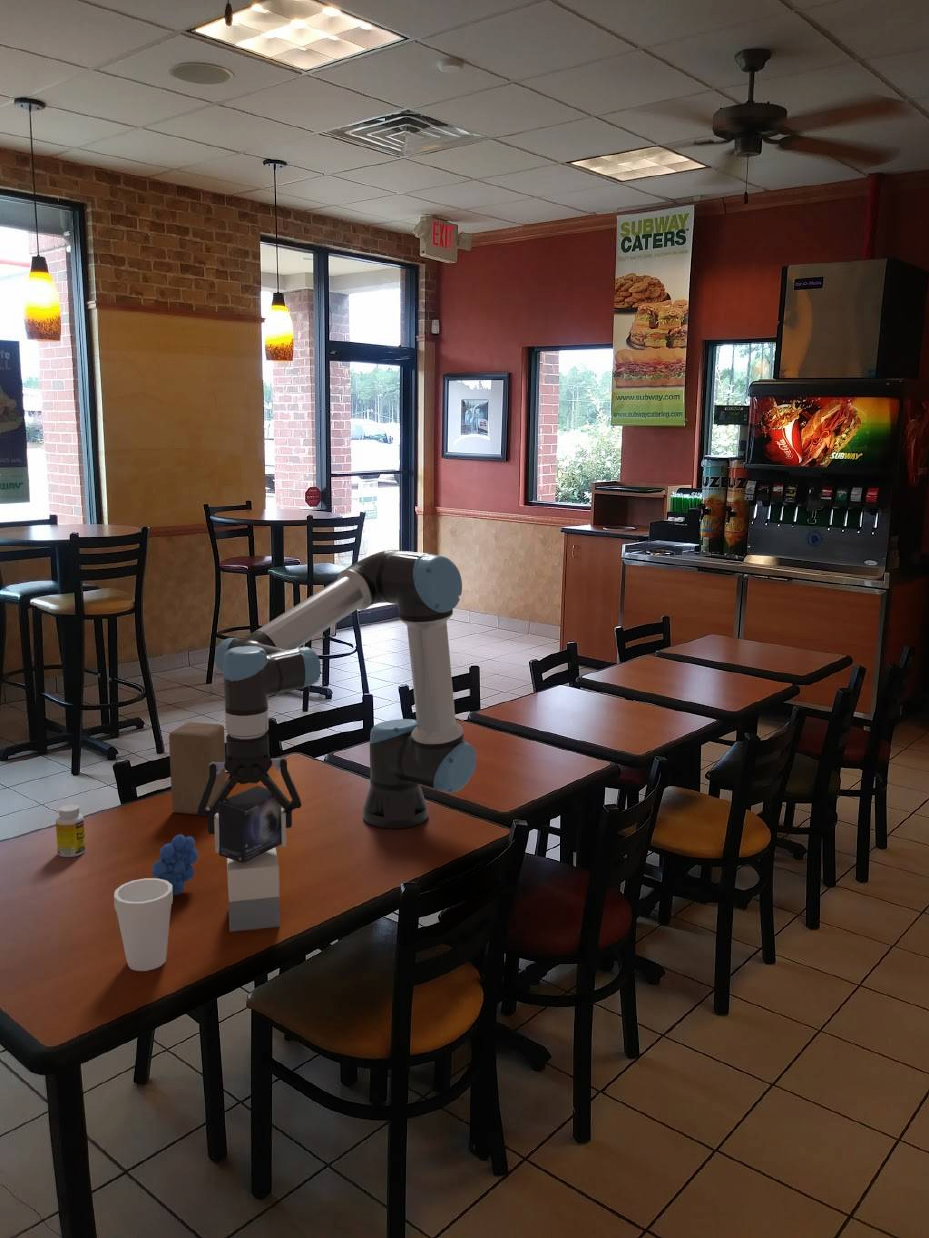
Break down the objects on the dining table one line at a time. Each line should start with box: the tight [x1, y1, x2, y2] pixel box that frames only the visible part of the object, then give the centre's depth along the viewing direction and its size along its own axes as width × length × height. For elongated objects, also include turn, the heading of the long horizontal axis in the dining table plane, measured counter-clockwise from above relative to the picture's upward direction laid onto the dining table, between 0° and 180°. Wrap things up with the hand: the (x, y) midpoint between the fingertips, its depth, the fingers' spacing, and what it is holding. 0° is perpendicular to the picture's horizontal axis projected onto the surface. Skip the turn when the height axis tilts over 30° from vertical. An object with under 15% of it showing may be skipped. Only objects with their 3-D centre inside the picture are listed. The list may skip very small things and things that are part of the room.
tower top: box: [226, 847, 280, 903], centre depth 183 cm, size 9×9×6 cm
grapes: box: [151, 833, 199, 896], centre depth 193 cm, size 12×7×12 cm, turn 151°
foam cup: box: [113, 877, 174, 972], centre depth 168 cm, size 10×9×13 cm
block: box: [168, 721, 228, 816], centre depth 236 cm, size 10×10×20 cm
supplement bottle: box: [55, 804, 86, 858], centre depth 211 cm, size 6×6×10 cm
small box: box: [218, 785, 282, 863], centre depth 181 cm, size 11×6×10 cm, turn 148°
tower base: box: [227, 894, 281, 933], centre depth 184 cm, size 9×9×6 cm
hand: (251, 846), depth 182 cm, fingers closed on small box, 11 cm apart
